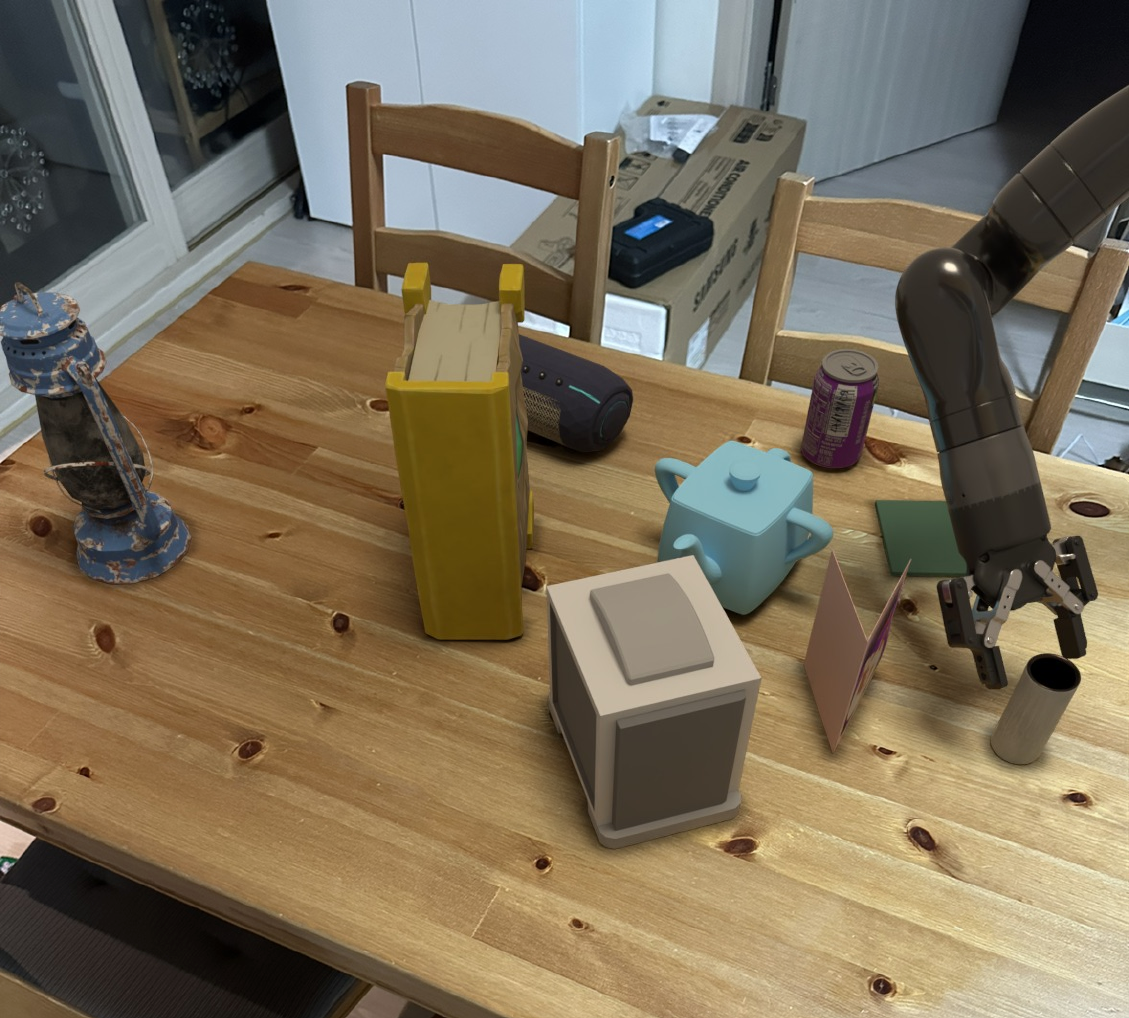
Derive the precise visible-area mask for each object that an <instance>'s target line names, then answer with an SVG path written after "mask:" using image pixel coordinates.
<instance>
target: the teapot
mask: <svg viewBox="0 0 1129 1018" xmlns="http://www.w3.org/2000/svg"><path fill="white" fill-rule="evenodd" d="M654 475H655V478H656V482H657V484H658V486H659V488H660V490H661V492H662V493H663V495H664V497H665V498H666V500H667V502H668V504H669V505H668V508H667V512H666V515H665V518H664V521H663V525H662V530H661V533H660V540H659V546H658V550H657V551H658V552H657V562H662V561H667V560H672V559H677V558H682V557H687V556H691V555H694V557H695V559H696V561H697V563H698V564H699V566H700V568H701V570H702V572H703V573H704V575H705V577H706V579H707V581H708V582H709V584H710V586H711V588H712V590H713V591H714V593H715V595H716V597H717V599H718V600H719V602H720V604H721V606H722V608H723V609H726V610H729V611H731V612H734V613H737V614H740V615H743V616H744V615H748V614H750V613H751V612H753V611H754V610H755V609H756V608H758V607H759V606H760V605H761V604H762V603H763V602H764V601H765V600H766V599H767V598H769V596H770V595H771V594H773V593H774V591H775V590H777V588H778V587H779V586H780V585H781V583H783V581H784V580H785V579H786V577H787V576H788V574H789V573H790V571H791V570H792V569H793V567H794V565H795V564H796V563H797V561H800V560H803V559H806V558H809V557H811V556H813V555H816V554H818V553H819V552H821V551H823V550H824V549H825V548H826V547H827V546H828V545H829V544H830V543H831V541H832V540H833V538H834V529H833V527H832V526H831V524H830V523H829V522H827V520H825V519H823V518H821V517H820V516H817V515H815V514H813V511H814V510H813V509H814V474H813V472H812V471H811V470H809V469H807V468H806V467H803V466H801V465H798V464H796V463H794V462H792V457H791V455H790V454H789V452H788V451H786V450H784V449H783V448H778V447H773V448H770V449H768V450H767V451H763V450H761V449H758V448H755V447H752V446H750V445H747V444H744V443H742V442H738V441H736V440H728V441H726V442H724V443H723V444H721V445H720V446H719V447H717V448H716V449H715V450H714V451H713V452H712V453H710V454H709V455H708V456H706V458H704V460H703V461H702V462H700V463H699V464H698V465H697V466H695V465H692V464H690V463H688V462H685V461H683V460H680V459H678V458H673V457H662V458H660V459H659V460H658V461H657V462H656V463H655V465H654ZM676 476H677V477H679V478H682V479H684V481H682V483H681V484H680V485H679V483H678V480H677V477H676Z"/></svg>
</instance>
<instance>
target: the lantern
mask: <svg viewBox="0 0 1129 1018" xmlns="http://www.w3.org/2000/svg"><path fill="white" fill-rule="evenodd" d="M14 288H15V292H16V294H14V296H13V299H11V300H9V301H7V302H6V303H4V304H2V305H1V306H0V337H2V338H1V340H0V346H1V350H2V352H3V354H4V357H5V361H6V365H7V368H8V370H9V372H8V377H9V381H10V384H11V386H12V387H14V388H15V389H16V390H18V391H19V392H21V393H24V394H29V395H33V396H34V397H35V398H34V399H35V403H36V410H37V414H38V415H37V416H38V420H39V426H40V432H41V438H42V441H43V444H44V447H45V450H46V452H47V455H48V461H49V467H47V468H45V469H44V470H43V475H44V477H45V478H48V479H49V480H53V481H55V483H56V486H57V487H58V488H59V490H60V492H61V494H63V496H64V497H66V498H67V499H68V500H69V501H70V502H72V503H74V504H76V505H77V506H80V507H81V509H82V510H80V512H79V513H78V514H77V516H76V518H75V521H74V523H73V526H72V530H73V532H74V536H75V539H76V542H77V549H76V554H75V555H76V559H77V563H78V566H79V570H80V571H82V572H83V573H84V574H85V575H86V576H88V577H89V578H90V579H91V580H94V581H97V582H101V583H104V584H105V583H106V584H108V585H125V584H127V585H128V584H129V585H130V584H137V583H140V582H143V581H146V580H150V579H154V578H157V577H159V576H160V575H162V574H163V573H165V572H167V571H168V570H170V569H172V568H174V567H175V566H176V565H177V564H178V563H179V562H180V561H181V560H182V558H183V557H185V555H186V554H187V553H188V552H189V548H190V544H191V540H192V538H193V537H192V534H191V531H190V528H189V525H188V523H187V522H185V521H184V520H183V519H182V518H180V517H179V516H178V515H176V514H175V513H174V510H173V507H172V505H171V503H170V501H169V500H168V499H167V498H165V496H162V494H160V493H159V492H156V491H151V490H150V488H151V486H152V482H153V479H154V465H153V459H152V457H151V453H150V450H149V447H148V445H147V443H146V441H145V439H144V437H143V435H142V433H141V432H140V431H139V430H138V428H137V427H136V426H135V424H134V423H133V421H131V420H130V419H129V418H127V417H126V416H125V415H124V414H123V413H122V412H121V411H120V409H119V408H118V407H117V406H116V404H115V403H114V401H113V400H112V399H111V397H110V395H108V393H107V391H106V390H105V388H104V387H103V386H102V385H101V383H100V382H99V380H98V379H97V378H98V377H99V376H100V375H101V374H102V373H103V372H104V370H105V368H106V365H107V363H108V362H107V361H108V360H107V358H106V355H105V353H104V351H103V350H102V349H101V348H99V347H98V345H97V342H96V340H95V338H94V336H92V335H91V333H90V331H89V328H88V326H87V324H86V322H85V321H84V320H82V319H81V318H79V317H78V316H79V315H80V312H81V308H80V305H79V302H78V301H77V300H76V299H74V298H73V297H71V296H70V295H68V294H64V293H59V292H55V291H53V292H52V291H51V292H49V291H48V292H33V291H32V290H31V289H29V288H28V287H27V286H25V285H24V284H22V283H21V282H18V281H17V282H15V283H14ZM23 292H24V293H26V294H24V293H23ZM129 424H131V426H132V427H133V428H134V430H135V431H136V433H138V436H139V437H140V438H141V440H142V443H143V445H144V447H145V448H146V452H147V455H148V459H149V462H150V468H149V467H147V466H146V464H145V458H144V453H143V451H142V449H141V446H140V445H139V443H138V441H137V439H136V437H135V435H134V434H133V432H132V430H131V427H130V426H129ZM50 472H51V473H52V474H49V473H50ZM150 474H151V475H150ZM147 476H150V479H149V482H148V485H147V487H146V485H145V483H144V480H145V477H147ZM60 484H61V485H60ZM62 487H63V488H64V489H65V491H66V492H67V493H65V491H64V490H63V488H62ZM67 494H68V495H67ZM73 499H74V500H73ZM75 500H76V501H75Z"/></svg>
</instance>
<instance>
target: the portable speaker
mask: <svg viewBox="0 0 1129 1018" xmlns="http://www.w3.org/2000/svg"><path fill="white" fill-rule="evenodd" d="M519 346H520V350H521V354H522V358H523V363H522V368H521V377H522V384H523V392H524V399H525V406H526V413H527V420H528V428H527V432H528V431H529V432H531V433H533V434H535V435H538V436H541V437H543V438H546V439H548V440H550V441H553V442H556V443H558V444H559V445H562V446H565V447H566V448H569V449H572V450H575V451H577V452H581V453H582V452H583V453H590V452H591V453H592V452H597V451H598V452H599V451H602V450H605V449H606V448H608V447H609V446H610V445H611V444H612V443H613V442H614V441H615V440H616V439H617V438H618V437H619V436H620V435H621V433H622V431H623V430H624V427H625V426H626V424H627V422H628V420H629V419H630V416H631V413H632V409H633V403H634V394H633V389H632V387H631V386H630V385H629V384H628V382H627V381H626V380H625V379H624V378H623V377H621V376H620V375H619V374H617V373H615V372H614V371H612V370H611V369H609V368H608V367H607V366H605V365H603V364H600V363H597V362H594V361H592V360H589V359H587V358H584V357H581V356H580V355H579V356H578V355H576V354H573V353H570V352H568V351H566V350H562V349H560V348H557V347H554V346H553V345H550V344H547V343H544V342H541V341H539V340H536V339H534V338H530V337H528V336H525V335H522V334H520V333H519Z"/></svg>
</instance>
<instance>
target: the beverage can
mask: <svg viewBox="0 0 1129 1018" xmlns="http://www.w3.org/2000/svg"><path fill="white" fill-rule="evenodd" d="M878 371H879V363H878V361H877V359H875V357H873V356H872V355H871V354H869V353H867V352H865V351H862V350H858V349H853V348H840V349H835V350H832V351H829V352H827V353H826V354H825V355H824V356H823V357H822V360H821V365H819V367H818V369H816V371H815V374H814V379H813V384H812V389H811V394H810V399H809V405H808V408H807V409H808V410H807V414H806V420H805V424H804V430H803V434H802V440H801V443H800V445H801V446H800V450H801V453H802V454H803V456H804V457H805V459H807V460H808V461H809V462H811V463H813V464H815V465H817V466H820V467H823V468H829V469H842V468H847V467H850V466H852V465H854V464H856V463H857V462H858V461H859V460H860V459H861V457H862V455H863V450H864V446H865V441H866V438H867V433H868V430H869V426H870V422H871V418H872V413H873V410H874V405H875V402H876V398H877V394H878V390H879V387H880V386H879V385H880V378H879V374H878V373H879V372H878Z"/></svg>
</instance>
